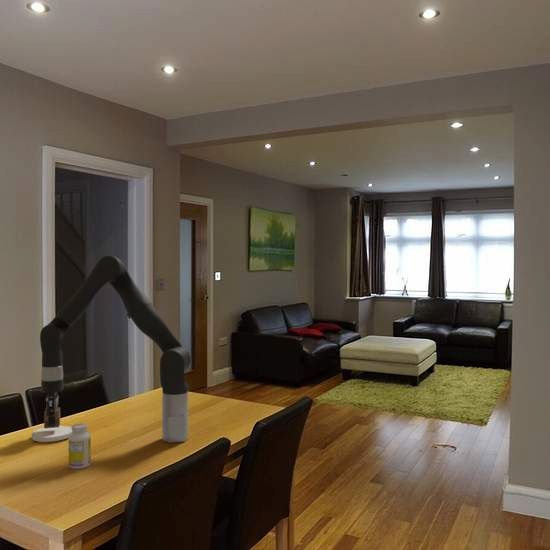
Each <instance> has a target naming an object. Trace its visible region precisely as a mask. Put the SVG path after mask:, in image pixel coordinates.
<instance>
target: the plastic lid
mask: <svg viewBox="0 0 550 550" xmlns="http://www.w3.org/2000/svg"><path fill="white" fill-rule="evenodd" d="M71 433H72V426H67V425H60V426H59V427H56V428H44V427H42V428H38V429H35V430H33V431H32V432H31V440H33V441H36V442H40V443H41V442H42V443H47V442H57V441H62V440H65V439H68V438H69V435H70V434H71Z"/></svg>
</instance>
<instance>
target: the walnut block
mask: <svg viewBox="0 0 550 550" xmlns="http://www.w3.org/2000/svg"><path fill="white" fill-rule="evenodd" d="M50 412H53V410H50V411H49V413H50ZM55 414H56V415H55V426H53V427H49V426H48V416H47V409H46V408H45V409H44V411H43V428H56V427H59V426H61V407H58V408H57V409H56V410H55Z"/></svg>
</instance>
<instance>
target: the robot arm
mask: <svg viewBox="0 0 550 550" xmlns="http://www.w3.org/2000/svg"><path fill="white" fill-rule="evenodd" d="M107 283H109V284H110V285H111V286H112V287H113V289H114V290H115V291H116V292H117V293H118V295H119V297H120V299H121V301H122V304H123V306H124V309H125V310H126V313H127V314H128V316H129V318H130V319H131V320H132V322H133V324H134V325H135V326H136V327H137V328H138V329H139V331H141V332H142V333H143V335H145V336H146V337H148V338H149V339H150V340H152V341H153V343H155V344H156V345H157V346H158V348H159V349H160V350H161V352H162V355H161V357H160V360H159V377H160V378H159V379H160V380H159V381H160V386H161V391H162V398H161V399H162V400H161V401H162V402H161V404H162V405H161V406H162V408H161V411H162V414H161V415H162V416H161V417H162V419H161V420H162V422H161V423H162V427H161V430H162V431H161V433H162V435H161V439H162V441H163V442H166V443H168V444H172V443H182V442H183V443H184V442H186V440H188V439H189V423H188V422H189V385H188V383H187V382H186V379H185V377H186V375H185V371H186V370H187V369H188V368H189V367H190V366H191V362H192V361H191V360H192V358H191V354H190V353H189V351H188V350H187V348H186V347H185V345H184V344H182V343H181V341H180V340H179V339H177V337H176V336H175V334H174V333H173V332H172V330H171V328H169V326H168V325H167V323H166V322H165V321H164V319H163V318H162V316H161V315H160V313H159V312H158V310H157V309H156V307H155V306H154V305H153V303H152V302H151V301H150V300H149V298H148V297H147V295H145V293H144V292H143V291H142V290H141V288H140V287H139V286H138V285H137V284H136V282H135V281H134V280H133V277H132V276H131V274H130V272H129V270H128V269H127V267H126V265H125V263H124V261H122V259H120V258H118V257H116V256H114V255H108V254H107V255H104V256H102V257H101V258H100V259H98V261H97V263H96V264H95V265H94V267H93V269H92V270H91V272H90V273H89V275H88V277H87V278H86V279H85V281H84V282H83V283H82V284H81V286H80V287H79V288H78V289H77V290H76V292H75V293H74V294H73V295H72V296H71V297H70V299H69V300H68V301H67V302H66V303H65V304H64V305H63V306H62V307H61V308H60V309H59V311H58V313H57V315H56V316H55V317H54V318H52V320H50V322H49V323H48V324H46V325H44V326H43V327H42V328H41V331H40V334H39V342H40V348H41V371H40V381H41V382H40V388H41V389H40V391H41V392H42V393H46V394H47V395H46V397H45V403H46V408H45V409H47V416H48V426H49V427H53V426H55V415H56V414H55V410H56V409H57V408H59V407H58V406H59V399H60V398H59V397H60V396H59V392H62V391H63V390H64V368H63V365H64V364H63V359H64V358H63V351H62V350H61V339H62V338H63V337H64V336H65V335H66V333H67V332H68V331H69V330H70V328H71V327H72V326H73V325H74V324H75V323H77V321H78V320H79V319H80V318H81V316H83V315H84V314H85V312H86V311H87V310H88V308H89V307H90V305H91V304H92V302H93V300H94V298H95V296H96V295H97V294H98V292H99V291H100V290H101V289H102V288H103V287H104V286H105V285H106V284H107ZM50 410H53V412H50V413H49V411H50Z"/></svg>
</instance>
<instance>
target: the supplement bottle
mask: <svg viewBox="0 0 550 550" xmlns="http://www.w3.org/2000/svg"><path fill="white" fill-rule="evenodd" d="M71 428H72V433H71V434H70V435H69V437H68V438H67V439H68V440H67V441H68V443H67V444H68V468H70V469H73V470H79V469H85V468H87V467H89V466H90V465H91V464H92V450H91V449H92V440H91V439H92V435H91V433H90V432H89V431H87V430H88V424H87V423H75V424H73V425H71Z"/></svg>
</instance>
